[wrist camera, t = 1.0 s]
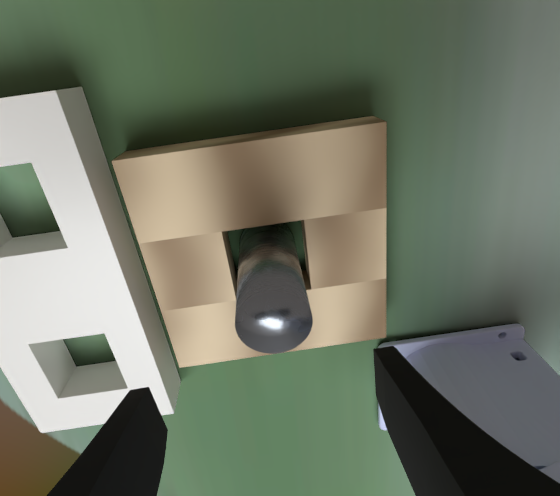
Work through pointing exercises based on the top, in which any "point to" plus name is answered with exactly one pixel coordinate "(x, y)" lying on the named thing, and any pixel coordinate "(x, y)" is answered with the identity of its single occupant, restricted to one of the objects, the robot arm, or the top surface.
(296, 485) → the top surface
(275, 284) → the steel peg
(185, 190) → the socket block
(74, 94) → the tool rack
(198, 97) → the top surface
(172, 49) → the top surface
